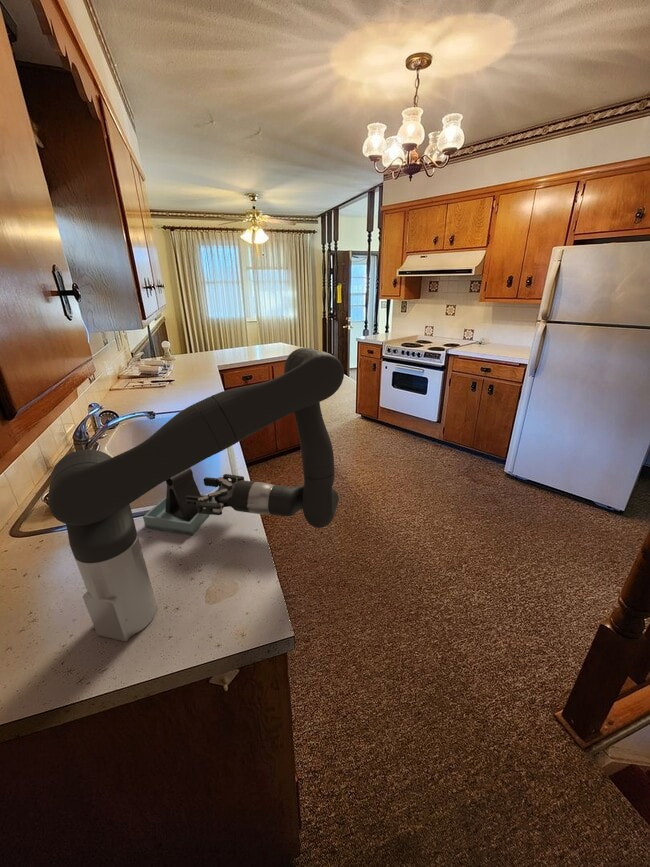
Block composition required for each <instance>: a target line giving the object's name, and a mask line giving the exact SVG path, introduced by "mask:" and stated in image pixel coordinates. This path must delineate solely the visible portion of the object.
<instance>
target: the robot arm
mask: <svg viewBox="0 0 650 867" xmlns="http://www.w3.org/2000/svg"><path fill="white" fill-rule="evenodd" d="M283 366H284V368H283V374H281V375H280V376H278V377H275V378H273V379H270V380H267V381H264V382H260V383H255V384H250V385H245V386H240V387H239V386H238V387H233V388H230V389H227V390H223V391H220V392H218V393H215V394H213V395H211V396H208V397H206V398H204V399H201V400H199V401H198V402H196V403H193V404H191V405H190V406H189V405H188V407H185V408H184V409H182V410H181V411H179V412H178V413H176V415H174V416H173V417H171V418H170V419H168V421H167V422H165V423H164V425H162V426H161V427H160V428H159V429H157V431H155V432H154V433H153V434H151V436H149V437H148V438H147V439H146V440H144V441H142V442H141V443H139V444H137V445H136V446H134V447H133V448H130V449H128V450H126V451H124V452H121V453H119V454H117V455H116V456H113V457H112V456H111V455H109V454H108V453H105V452H104V451H101V450H96V449H91V448H89V449H85V448H84V449H79V450H76V451H75V450H74V451H72V452H70V453H68V454H65V455H64V456H63V457H62V458H60V460H58V461H57V463H55V465H54V467H53V469H52V471H51V475H50V481H49V487H48V497H47V501H48V502H47V503H48V508H49V510H50V513H51V515H52V516H53V517H54V519H56V520H57V521H58V522H61V523H63V524H65V526H66V530H67V532H66V533H67V538H68V544H69V546H70V549H71V552H72V555H73V558H74V560H75V562H76V565H77V568H78V570H79V574H80V576H81V579H82V581H83V584H84V586H85V589H86V592H85V593H84V594H83V595H82V600H83V601H84V604H85V607H86V610H87V612H88V614H89V617H90V619H91V622H92V624H93V627H94V629H95V632H96V635H97V636H101V637H104V638H109V639H113V640H117V641H120V642H121V641H122V642H128V641H129V639H130V638H131V637H132V636H134V635H136V634H137V633H139V632H141V631H142V630H143V629H145V628H146V627H147V626H148V625H149V624H150V623H151V622H152V620H153V619H154V618H155V616H156V614H157V611H158V603H157V599H156V598H155V597H156V596H155V592H154V589H153V585H152V582H151V578H150V575H149V571H148V567H147V563H146V561H145V558H144V553H143V550H142V546H141V542H140V538H139V536H138V532H137V528H136V524H135V520H134V515H133V511H132V508H131V505H130V504H131V503H133V502H134V501H136V500H137V499H138V500H139V498H141V497H142V496H144V495H145V494H147V493H148V492H150V491H151V490H153V489H154V488H156V487H157V486H159V485H161V484H162V483H164V482H166V480H168V479H169V478H171V477H173V476H175V475H177V474H179V473H181V472H183V471H185V470H186V469H188V468H190V469H191V468H192V467H193V466H195V465H198V464H199V463H201V462H203V461H204V460H206V459H208V458H210V457H213V456H214V455H217V454H218V453H220V452H222V451H224V450H227V449H228V448H230V447H232V446H233V445H236V444H237V443H239V442H241V441H242V440H244V439H246V438H248V437H249V436H251V435H253V434H256V432H259V431H261V430H263V429H265V428H266V427H268V426H270V425H272V424H274V423H275V422H278V421H279V420H281V419H283V418H284V417H287V416H288V415H291V414H294V420H295V424H296V428H297V432H298V433H297V434H298V438H299V439H298V440H299V444H300V445H299V446H300V453H301V464H302V465H301V466H302V474H303V485H297V486H287V485H276V484H273V483H272V484H271V483H267V482H261V481H251V480H245V476H243V475H237V474H230V473H224V474H223V476H222V477H221V476H220V477H218V478H217V477H204V478H203V484H204V486H205V487H213V488H218V489H216V490H215V491H213V492H209V493H207V494H206V495H207V496H204V497H198V496H190V495H187V496H186V497H185V503H186V504H187V505H192V506H197V510H198V513H200V514H210V516H211V515H212V516H221V515H223V509H224V508H228V507H229V508H232V509H233V511H236V512H242V513H246V514H247V513H248V514H256V515H273V516H278V517H289V518H290V517H293V516H294V515H295V514H297V513H298V512H299V511H301V510H302V513H303V516H304V519H305V520H306V521H307V523H308V524H309V525H310V526H312V527H314V528H317V529H322V528H326V527H327V526H328V525H330V524H331V523H332V521H333V520H334V518H335V514H336V511H337V508H338V505H339V501H340V500H339V499H340V498H339V494H338V492H337V491H336V490H335V489H334V488H333V486H334V481H335V476H336V475H335V474H336V472H335V456H334V449H333V445H332V440H331V437H330V434H329V432H328V429H327V426H326V424H325V421H324V417H323V414H322V408H321V403H320V402H324V401H325V400H327V399H329V398H330V397H332V396H333V395H335V394H336V392H338V390H339V389H340V387H341V386H342V383H343V382H344V381H343V380H344V378H345V377H344V376H345V369H344V366H343V364H342V362H341V361H340V360H339V358H337V356H336V357H335V356H334V355H333V354H331V353H329V352H326V351H324V350H323V351H322V350H319V349H314V348H310V347H299V348H297V349H295V350H293V351H292V352H291V353H289V355H288V356H287V357H286V360H285V362H284V365H283ZM229 479H230V480H229ZM213 497H214V498H215V501H216V502H215V503H213V501H212V498H213ZM206 500H209V502H204V501H206ZM203 508H206V509H203Z"/></svg>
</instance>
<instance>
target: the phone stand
mask: <svg viewBox="0 0 650 867" xmlns="http://www.w3.org/2000/svg"><path fill="white" fill-rule="evenodd" d="M193 472H194V471H193V470H192V468H191V467H190V468H188V469H186V470H185V471H183V472H181V473H179V474H177V475H175V476H173V477H171V478H169V479H168V480H166V481H165V484H166V496H165V497H166V509H165V511H166V512H167V513H169V514H172V515H174V516H176V517H178V518H181V519H183V520H185V521H188V522H189V521H190V520H192V519H193V517H194V516H195V515H196V514H197V513H198V510H197V506H192V505H187V504H186V503H185V497H186V496H187V495H190V496H198V497H201V495H200V494H201V493H200V491H199V488H198V485H197V484H196V481H195V478H194V473H193Z"/></svg>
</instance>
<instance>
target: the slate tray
mask: <svg viewBox="0 0 650 867" xmlns="http://www.w3.org/2000/svg"><path fill="white" fill-rule="evenodd" d="M200 495H201V497H204V496H207V495H208V494H204V493H200ZM212 501H213V503H215V502H216V501H215V498H214V497H213V498H212ZM204 502H209V500H206V501H204ZM165 509H166V496H165V497H163V498H162V499H161V500H160V501H158V503H157V504H155V505H154V506H153V507H151V509H150V510H149V511H147V512H146V513H145V514H144V515H142V519H143V523H144V526H145V529H149V530H156V531H163V532H169V533H175V534H181V535H188V536H193V535H194V534H195V533H196V532H197V531H198V530H199V528H200V527H201V526H202V525H203V524H204V523H205V521H206V520H208V518H209V517H210V516H211V514H200V513H197V514H196V515H195V516H194V517H193V519H192V520H190V521H189V522H188V521H185V520H183V519H181V518H178V517H176V516H174V515H172V514H169V513H167V512H166V511H165ZM203 509H206V508H203ZM209 515H210V516H209Z"/></svg>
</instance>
